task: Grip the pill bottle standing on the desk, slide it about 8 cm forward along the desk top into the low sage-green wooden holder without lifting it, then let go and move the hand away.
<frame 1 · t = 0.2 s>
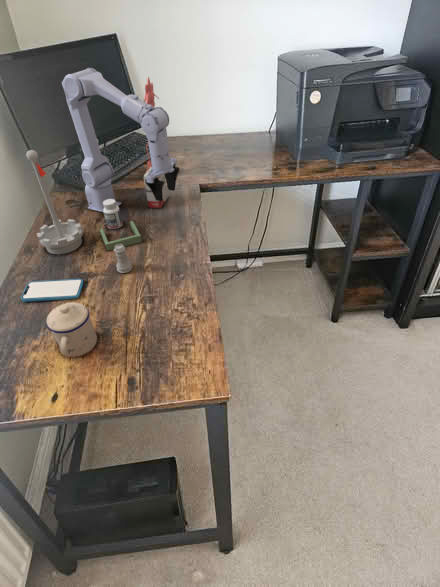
hand: (165, 195, 123), 10 cm above the table, tool pointing down, fingers open, 7 cm apart
teacup with lid: (77, 348, 89), on the table
rook chess piece: (124, 269, 111), on the table
pill bottle: (115, 225, 130), on the table
flag stand: (64, 244, 122), on the table
smartphone: (54, 292, 105), on the table
ink box: (158, 203, 141), on the table
figurine: (163, 171, 161), on the table
holder: (120, 237, 124), on the table
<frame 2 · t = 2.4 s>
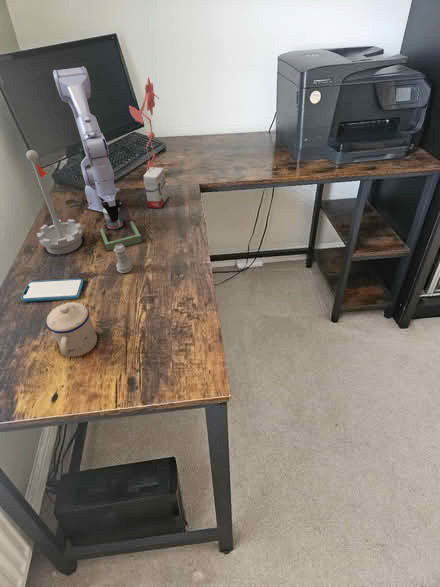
hand: (113, 216, 127), 3 cm above the table, tool pointing down, fingers closed on pill bottle, 5 cm apart
pill bottle: (115, 225, 130), on the table, touching gripper
everything else where it was.
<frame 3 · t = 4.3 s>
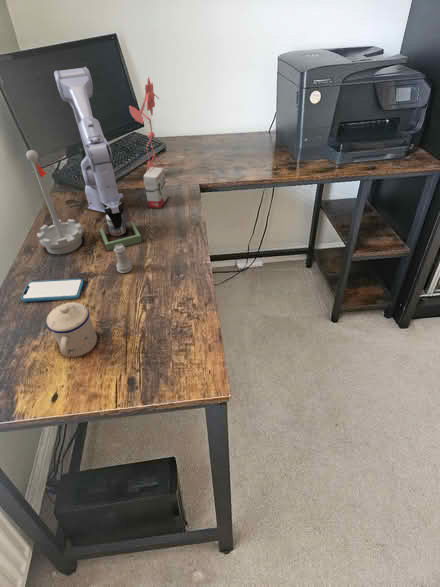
hand: (116, 223, 124), 3 cm above the table, tool pointing down, fingers closed on pill bottle, 5 cm apart
pill bottle: (118, 232, 127), on the table, touching gripper
everything else where it was.
when the fingers open (3 cm above the table, at t = 6.1 s): pill bottle stays where it is, on the table.
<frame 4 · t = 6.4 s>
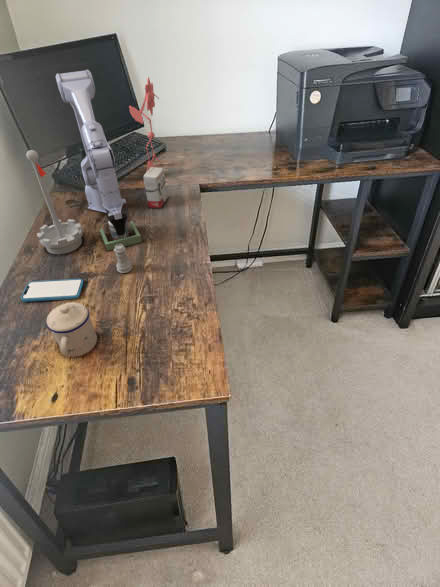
hand: (118, 228, 122), 3 cm above the table, tool pointing down, fingers open, 7 cm apart
pill bottle: (121, 238, 124), on the table
everything else where it was.
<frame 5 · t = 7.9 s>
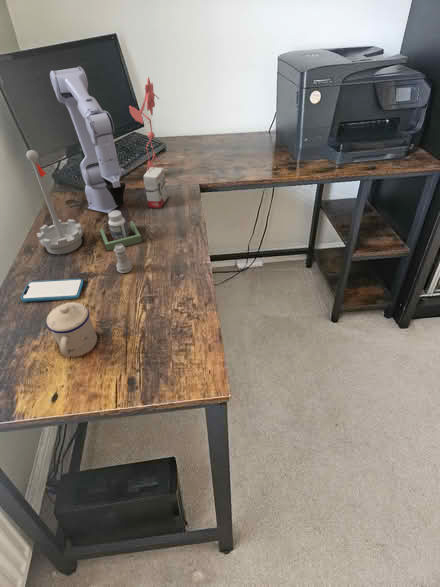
hand: (117, 199, 122), 10 cm above the table, tool pointing down, fingers open, 7 cm apart
nothing on the table moved.
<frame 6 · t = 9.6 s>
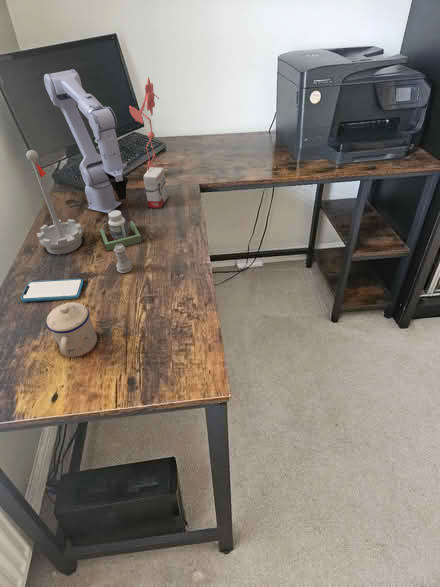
hand: (119, 194, 124), 10 cm above the table, tool pointing down, fingers open, 7 cm apart
nothing on the table moved.
at the end: pill bottle 0.0 cm from the holder (horizontally); pill bottle tilted 0°; the gripper is holding nothing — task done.
